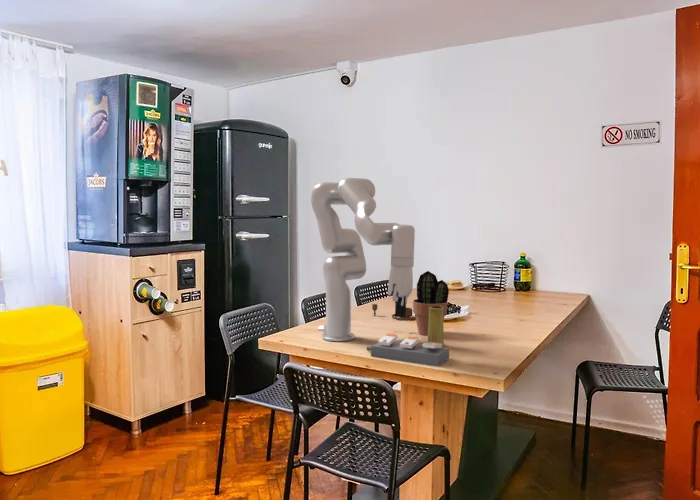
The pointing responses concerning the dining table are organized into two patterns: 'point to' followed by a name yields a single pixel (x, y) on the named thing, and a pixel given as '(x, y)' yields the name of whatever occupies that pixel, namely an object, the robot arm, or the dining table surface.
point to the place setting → (408, 314)
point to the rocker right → (432, 345)
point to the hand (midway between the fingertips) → (400, 316)
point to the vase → (436, 325)
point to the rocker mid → (409, 342)
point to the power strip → (411, 353)
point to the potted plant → (429, 299)
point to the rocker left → (387, 339)
